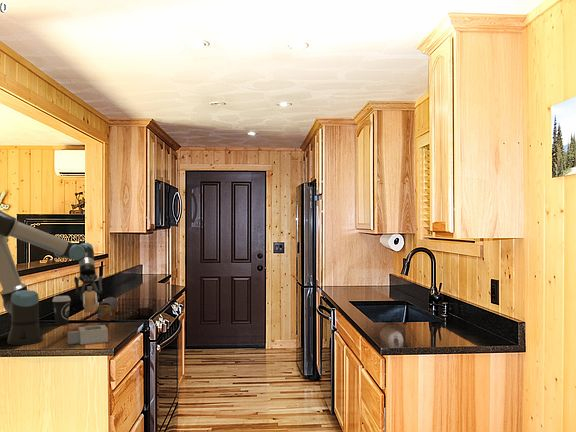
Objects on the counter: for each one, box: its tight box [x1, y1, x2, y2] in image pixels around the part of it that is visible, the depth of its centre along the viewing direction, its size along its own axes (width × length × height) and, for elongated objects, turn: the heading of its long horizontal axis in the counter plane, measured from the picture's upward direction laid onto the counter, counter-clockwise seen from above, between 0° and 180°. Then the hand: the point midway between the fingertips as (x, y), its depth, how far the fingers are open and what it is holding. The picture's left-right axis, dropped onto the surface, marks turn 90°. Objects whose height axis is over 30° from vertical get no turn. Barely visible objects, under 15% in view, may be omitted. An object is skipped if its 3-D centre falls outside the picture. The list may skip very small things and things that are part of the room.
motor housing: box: [67, 324, 109, 346], centre depth 261 cm, size 12×17×6 cm
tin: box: [96, 304, 117, 322], centre depth 316 cm, size 15×3×8 cm, turn 52°
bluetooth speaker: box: [97, 296, 119, 312], centre depth 331 cm, size 23×9×10 cm, turn 9°
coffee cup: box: [51, 295, 72, 326], centre depth 305 cm, size 10×10×15 cm
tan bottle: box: [83, 285, 96, 313], centre depth 274 cm, size 5×5×12 cm
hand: (90, 304), depth 271 cm, fingers closed on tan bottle, 5 cm apart
